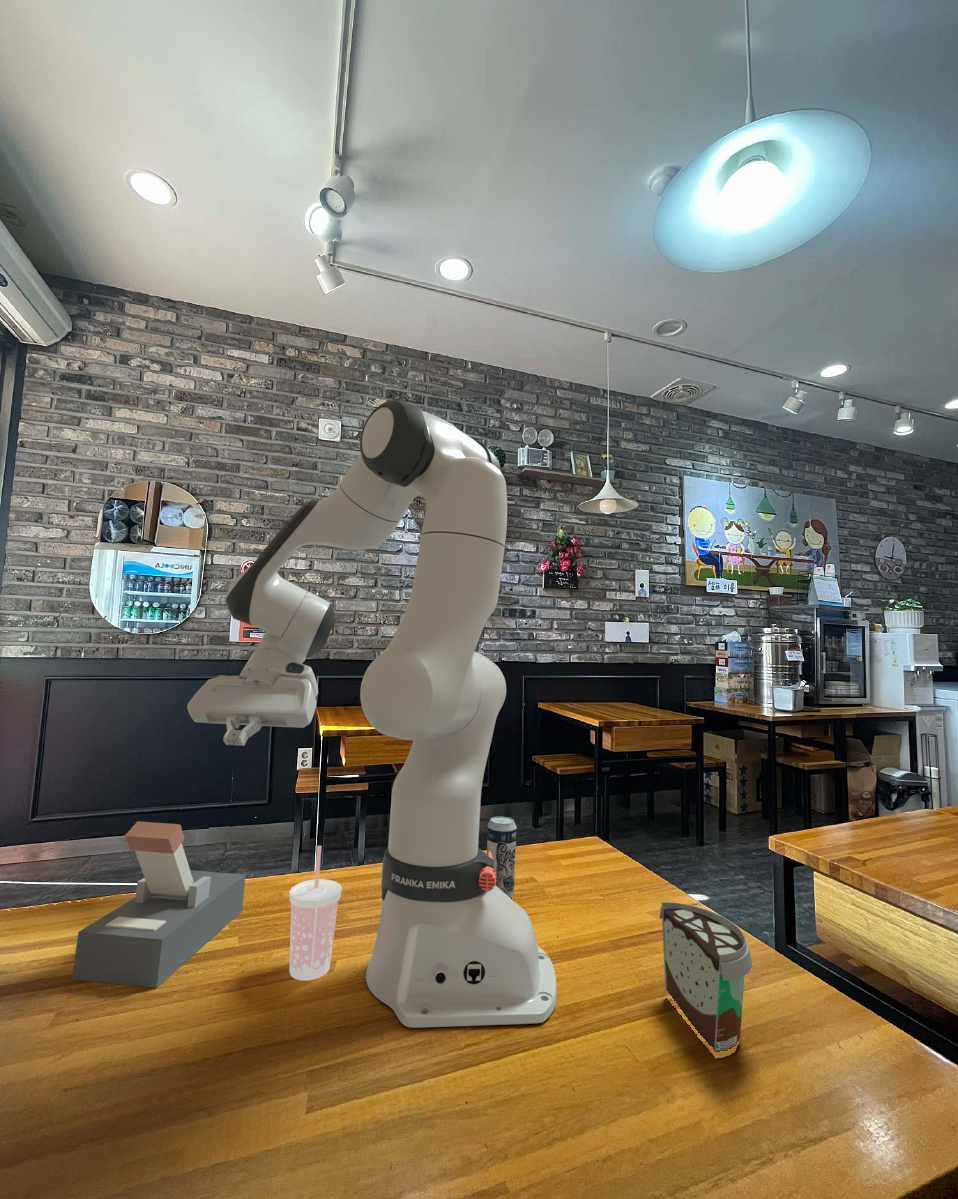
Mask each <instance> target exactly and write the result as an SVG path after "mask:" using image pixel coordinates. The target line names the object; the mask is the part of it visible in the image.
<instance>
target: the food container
mask: <svg viewBox="0 0 958 1199" xmlns="http://www.w3.org/2000/svg"><path fill="white" fill-rule="evenodd" d="M659 910H660V911H659V920H662V921H661V923H662V925H661V926H662V941H663V942H662V943H663V944H662V946H663V963H664V964H663V966H664V970H663V971H664V987H665V988H664V990H665V989H666V991H668V993H669V994H670V995H671V996H672V998H673V999H674V1001H676V1003H677V1004H678V1006H679V1007H680V1009H681V1010H682V1011H683V1013H684V1014H685V1016H686V1017H687V1018H688V1020H689V1021H690V1022H691V1024H692V1025H693V1026H694V1027H695V1029H696V1030H697V1031H698V1033H700V1035H701V1036H702V1037H703V1038H704V1039H705V1040H706V1042H708V1044H709V1045H710V1046H712V1047H713V1049H714V1051H715V1052H720V1051H727V1050H728V1049H731V1048H732V1047H734V1046H736V1044H737V1042H738V1041H739V1039H740V1040H741V1032H742V1018H743V1017H742V1016H743V1015H742V1014H743V1001H744V988H745V987H744V986H745V976H746V975H747V974H749V973H750V971H751V970H752V967H753V959H752V954H751V951H750V944H749V943H748V941H747V939H746V936H745V933H744V932H743V931H742V930H741V929H740V927H739V926H737V925H736V924H735V923H733V922H732V921H731V920H729V919H727V918H726V917H724V916H722V915H720V914H719V913H716V912H714V911H710V910H709V909H706V908H703V907H700V906H695V905H692V904H687V903H681V902H671V901H670V902H669V901H661V906H660V908H659Z"/></svg>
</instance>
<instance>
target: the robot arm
mask: <svg viewBox="0 0 958 1199" xmlns="http://www.w3.org/2000/svg"><path fill="white" fill-rule="evenodd" d="M359 440H360V441H359V450H360V453H359V455H357V457H356V458H355V460H354V461H353V463H352V464H351V466H350V467H348V470H347V472H346V473H345V475H344V476H343V478H342V480H341V481H340V483H339V485H338V487H337V488H336V489H335V490H334V491H333V492H332V493H331V494H330V495H328V496H326V497H325V498H323V499H320V500H319V499H310V500H308V501H307V502H306V503H304V504H303V505H301V506H300V507H299V508H298V509H297V510H296V512H295V513H294V514H293V516H291V518H290V519H289V520H288V521H286V522H285V524H284V525H283V526H282V527H281V529H280V530H279V531H278V532H277V533H276V534H275V536H274V537H273V538H272V539H271V540H270V542H269V543H268V544H267V545H266V547H265V548H264V549H263V550H262V551H261V553H260V554H259V555H258V557H257V558H256V560H254V562H253V563H252V564H251V565H250V566H249V567H247V568H246V569H245V570H244V571H243V572H241V573H240V574H239V575H238V576H237V577H236V578H235V579H234V581H233V582H232V583H231V585H230V586H229V588H228V591H227V593H226V598H225V600H224V601H225V604H226V607H227V609H228V611H229V613H230V616H231V617H232V618H233V619H234V620H235V621H236V620H237V621H239V622H241V623H244V624H247V625H249V626H253V627H256V628H258V629H260V630H262V631H264V634H263V635H262V637H261V639H260V641H259V646H258V648H256V649H255V650H254V651H253V653H252V654H251V655H250V657H249V659H248V661H247V662H246V664H245V666H244V667H243V668H242V670H241V671H240V674H239V675H225V674H224V675H223V674H220V675H218V676H215V677H213V678H211V679H208V680H207V681H206V682H205V683H204V684H203V685H201V687H200V688H199V689H198V691H197V692H196V693H195V694H194V695H193V696H192V698H191V699H190V701H189V702H188V703H187V706H186V710H187V711H188V714H189V716H190V718H191V719H192V721H193V722H195V723H200V724H201V723H203V724H222V725H226V730H227V731H226V732H225V734H224V736H223V740H222V741H223V742H224V744H225V745H228V746H245V745H246V743H247V741H248V739H249V738H251V737H252V736H254V735H255V734H256V733H258V732H259V731H260V730H261V728H262V727H277V728H278V727H281V728H300V729H303V728H305V727H307V726H309V725H310V724H311V722H312V721H313V717H314V715H315V711H316V707H317V699H316V698H317V696H318V695H319V688H318V682H317V679H316V676H315V673H314V672H313V669H312V667H311V666H310V665H306V664H303V663H304V662H305V661H306V659H308V658H311V657H313V656H315V655H317V654H319V653H320V652H322V650H323V649H324V647H325V645H326V644H327V642H328V639H329V636H330V635H331V634H330V633H331V631H332V629H333V628H334V625H335V623H336V620H337V617H336V613H335V609H334V607H333V605H332V603H330V602H329V601H327V600H326V599H324V598H322V597H320V596H318V595H317V594H314V593H313V592H310V591H307V590H306V589H304V588H303V587H300V586H298V585H297V584H294V583H293V582H291V581H288V580H287V579H285V578H283V577H281V575H280V574H279V573H278V572H279V570H280V569H281V568H282V567H283V566H284V564H285V563H286V562H288V560H289V559H290V558H291V556H292V555H293V554H294V553H295V552H296V550H298V549H299V548H301V547H304V546H310V545H314V546H315V545H317V546H319V545H320V546H327V547H332V548H338V549H340V550H341V549H342V550H347V551H365V550H366V551H367V550H370V549H375V548H376V547H379V546H380V545H382V544H384V543H385V542H386V541H387V540H388V539H389V537H390V536H391V534H392V533H393V532H394V531H395V529H396V528H397V527H398V525H399V524H400V522H401V521H402V519H403V517H404V515H405V514H406V513H407V511H408V508H409V506H410V505H411V504H412V502H413V501H414V499H416V498H417V497H420V498H421V499H424V501H425V511H424V512H425V513H424V517H423V521H422V528H421V533H420V535H421V536H420V539H419V540H420V541H419V546H418V552H417V553H418V554H417V559H416V566H415V571H414V578H413V584H412V587H411V593H410V596H409V599H408V602H407V605H406V608H405V611H404V613H403V615H402V618H401V620H400V622H399V625H398V626H397V629H396V631H395V633H394V634H393V637H392V639H391V640H390V642H389V644H388V645H387V646H386V648H385V649H384V650H383V651H382V652H381V653H380V654H379V655H377V657H375V659H374V660H372V661H371V663H370V664H369V665H368V667H367V669H366V671H365V672H364V675H363V678H362V681H361V683H360V684H361V685H360V690H359V691H360V692H359V693H360V694H359V695H360V705H361V708H362V712H363V714H364V716H365V719H366V720H367V721H368V723H369V724H370V725H371V726H372V727H373V729H375V730H376V731H377V732H378V733H379V734H382V735H384V736H388V737H391V738H394V739H395V738H396V739H401V740H407V741H412V744H411V747H410V750H409V752H408V755H407V758H406V760H405V762H404V764H403V766H402V768H401V769H400V770H399V772H398V773H397V774H396V776H395V779H394V782H393V784H392V788H391V789H392V790H391V801H390V802H391V803H390V804H391V805H390V813H389V814H390V816H389V830H388V831H389V832H388V846H387V848H386V849H385V850H384V855H383V859H382V867H381V880H380V883H381V884H380V889H381V900H382V907H381V912H380V919H379V923H378V924H379V925H378V929H377V934H376V938H375V942H374V946H373V950H372V953H371V957H370V960H369V963H368V966H367V969H366V970H365V971H366V972H365V980H366V985H367V987H368V989H369V991H370V992H371V993H372V994H373V996H374V997H376V999H378V1000H380V1001H381V1002H382V1003H383V1004H385V1005H387V1006H388V1007H389V1008H390V1009H392V1010H393V1011H394V1013H395V1015H396V1018H397V1019H398V1021H399V1022H400V1023H401V1024H402V1025H403V1026H405V1027H407V1028H414V1029H416V1028H417V1029H418V1028H440V1027H441V1028H442V1027H443V1028H445V1027H448V1028H449V1027H470V1026H471V1027H472V1026H497V1025H500V1026H502V1025H521V1024H522V1025H527V1024H539V1023H540V1024H541V1023H544V1022H546V1020H547V1019H548V1018H550V1017H551V1015H552V1013H553V1011H554V1009H555V1006H556V1003H557V995H558V991H557V989H558V988H557V977H556V971H555V967H554V964H553V962H552V960H551V958H550V956H549V955H548V954H547V953H546V951H545V950H543V948H541V946H539V945H538V942H537V937H536V932H535V930H534V926H533V924H532V920H531V918H530V916H529V915H528V913H527V912H526V911H525V909H524V908H522V906H520V905H519V904H518V903H517V902H516V901H514V899H511V898H509V897H508V896H507V895H506V894H505V893H504V892H503V891H502V890H500V889H499V888H498V887H497V886H496V877H497V875H496V872H495V870H494V861H493V860H492V854H491V852H490V851H489V855H487V853H486V852H484V851H483V850H482V849H481V848H480V847H479V840H480V839H479V838H480V837H479V835H480V817H481V816H480V815H481V800H482V799H481V798H482V789H483V781H484V775H485V771H486V770H485V769H486V765H487V761H488V757H489V753H490V747H491V743H492V741H493V740H492V739H493V734H494V731H495V726H496V722H497V721H496V720H497V717H498V716H499V712H500V711H501V709H502V707H503V705H504V702H505V700H506V696H507V684H506V678H505V676H504V674H503V672H502V670H501V669H500V667H499V666H498V665H497V664H496V663H495V662H493V660H490V658H488V657H486V656H485V655H482V654H481V653H479V652H476V648H477V645H478V642H479V641H480V637H481V635H482V632H483V630H484V628H485V625H486V623H487V621H488V619H489V618H490V616H492V614H493V613H494V612H495V610H496V607H497V605H498V600H499V593H500V584H501V579H502V571H503V562H504V558H505V556H504V555H505V546H506V540H507V538H506V537H507V528H508V527H507V526H508V493H507V482H506V479H505V476H504V475H503V473H502V470H501V465H500V462H499V459H498V458H497V457H496V455H495V454H494V453H493V452H492V450H490V449H489V448H488V447H487V446H486V445H485V444H483V443H482V442H480V441H476V440H475V439H473V438H472V437H471V436H470V435H468V434H466V433H465V432H463V431H461V429H458V428H457V427H456V426H455V425H454V424H452V423H450V422H449V421H447V420H444V419H443V418H441V417H439V416H436V415H435V414H432V413H429V412H426V411H424V410H422V409H420V408H419V407H418V406H417V405H414V404H412V403H409V402H406V401H401V400H397V399H396V400H395V399H394V400H393V399H390V400H386V401H384V402H383V403H381V404H380V405H378V406H376V408H374V410H372V411H371V413H370V414H369V415H368V417H367V419H366V420H365V422H364V425H363V427H362V431H361V434H360V439H359ZM242 725H243V726H245V727H243V728H242V729H241V730H240V729H239V728H240V726H242Z"/></svg>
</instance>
